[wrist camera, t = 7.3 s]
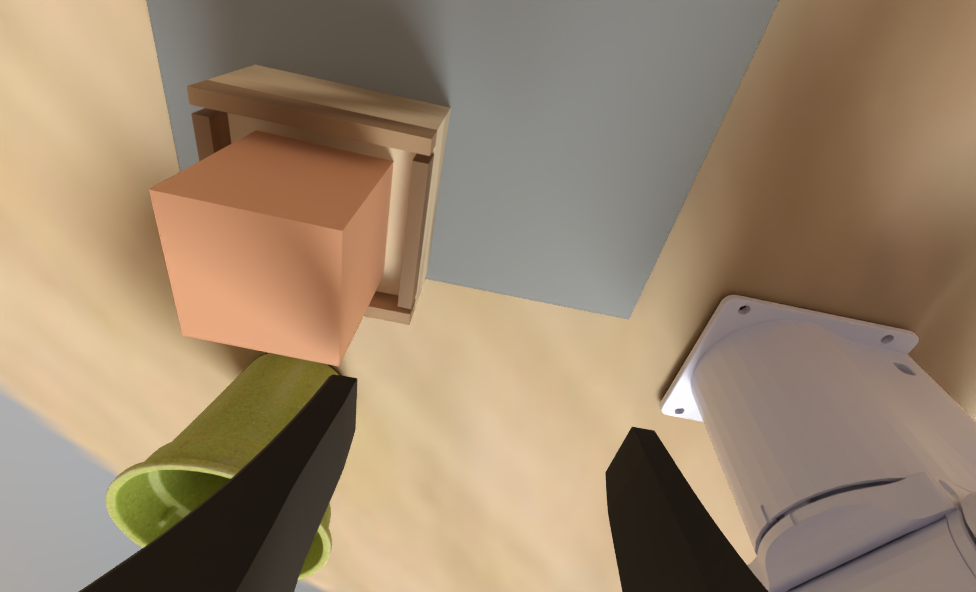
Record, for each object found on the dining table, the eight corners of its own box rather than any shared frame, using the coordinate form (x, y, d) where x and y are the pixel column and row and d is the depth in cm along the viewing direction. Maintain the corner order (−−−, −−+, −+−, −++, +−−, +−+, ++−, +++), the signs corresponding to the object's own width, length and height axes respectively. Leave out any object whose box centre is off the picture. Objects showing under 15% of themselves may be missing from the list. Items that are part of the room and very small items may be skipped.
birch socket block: (450, 107, 17) (431, 139, 13) (427, 269, 21) (409, 324, 17) (255, 64, 16) (186, 86, 13) (270, 238, 20) (220, 288, 17)
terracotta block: (393, 161, 15) (342, 231, 11) (383, 274, 17) (339, 366, 13) (255, 130, 15) (148, 189, 10) (265, 249, 17) (182, 335, 13)
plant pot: (289, 296, 23) (184, 435, 16) (413, 405, 27) (372, 556, 20) (187, 369, 27) (64, 511, 20) (309, 456, 31) (244, 600, 24)
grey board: (873, -239, 12) (899, -256, 11) (625, 307, 22) (628, 319, 21) (85, -455, 11) (49, -491, 10) (204, 221, 21) (191, 231, 20)
